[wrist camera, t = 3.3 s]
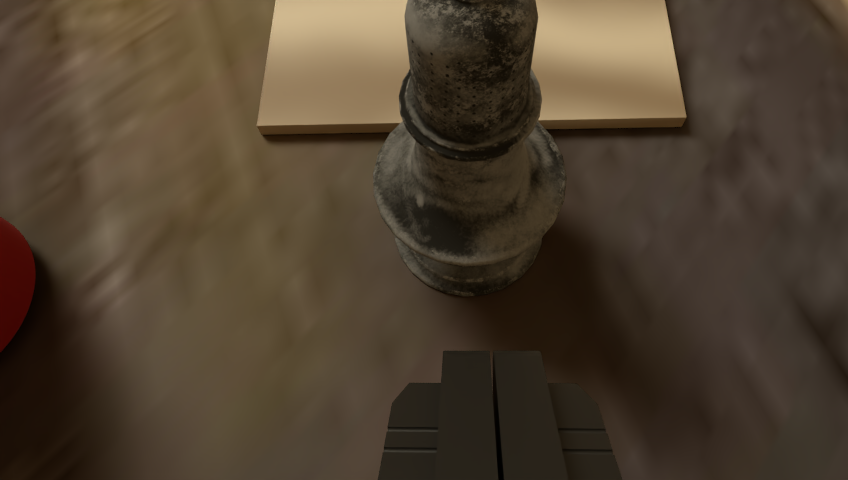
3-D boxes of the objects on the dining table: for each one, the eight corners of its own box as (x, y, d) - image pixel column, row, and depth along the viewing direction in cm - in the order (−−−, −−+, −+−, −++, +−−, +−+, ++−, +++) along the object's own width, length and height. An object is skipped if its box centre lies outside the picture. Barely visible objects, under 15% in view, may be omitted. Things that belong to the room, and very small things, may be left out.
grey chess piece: (526, 141, 24) (580, -187, 13) (572, 285, 21) (688, 30, 10) (373, 172, 23) (294, -134, 13) (401, 320, 21) (334, 100, 10)
